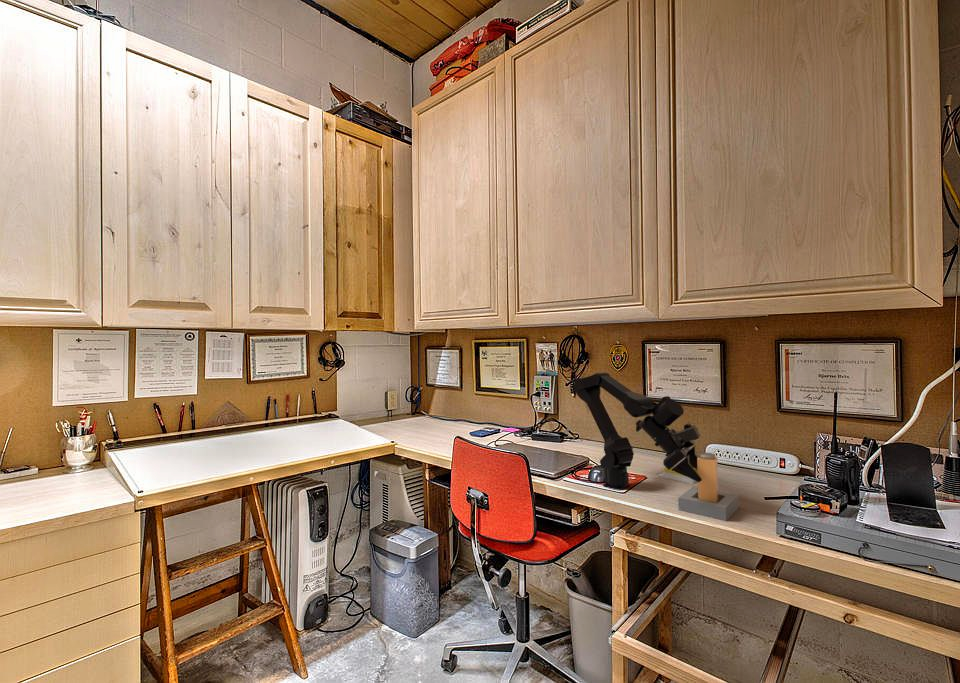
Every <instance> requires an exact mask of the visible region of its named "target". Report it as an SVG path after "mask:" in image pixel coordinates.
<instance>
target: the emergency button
mask: <svg viewBox="0 0 960 683" xmlns="http://www.w3.org/2000/svg"><path fill="white" fill-rule="evenodd" d="M673 467H674V466H673ZM673 467H672V468H673ZM672 468H671V469H672ZM671 469H670V470H668V469H667V468H666V467H664V468H663V469H662V470H663V472H661V473H658V474H657V476H658V477H662V478H664V479H670V480H674V481H677V480H678V482H681V483H682V482H683V483H686V484H689V485H690V484H691V485H694V486H698V482H697V481H695V480H693V479H691V478H689V477H686V476H684V475H682V474H680V473H677V472H675V471H671ZM694 469H695V468H694ZM695 471H696V472H697V473H698V471H697V469H695Z"/></svg>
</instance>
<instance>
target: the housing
mask: <svg viewBox="0 0 960 683" xmlns="http://www.w3.org/2000/svg"><path fill="white" fill-rule="evenodd" d="M677 498H678V499H677V501H678V511H681V512H685V513H690V514H694V515H697V516H698V515H699V516H702V515H703V517H706V516H707V517H708V518H711V517H712V518H711V519H715V518H716V520H719V521H724V522H726V521H727V520H728V519H729V518H730V517H732V515H733V514H734V513H735V512H736V511H737V510H738V509H739V495H738V494H733V493H728V492H723V491H718V501H719V502H718V503H717V502H712V501H707V500H702V499H698V486H697V487H696V486H692V487H691V488H689V489H688V490H686V491H685V492H684V493H683V494H681V495H679V496H678V497H677Z"/></svg>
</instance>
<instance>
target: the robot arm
mask: <svg viewBox="0 0 960 683" xmlns="http://www.w3.org/2000/svg"><path fill="white" fill-rule="evenodd" d="M601 388H602V389H603V390H604V391H606V392H607V393H608V394H610V395H611V396H612V397H614V398H615V399H617V400H618V401H620V403H621V404H622V406H623V409H624V410H625V411H626V412H627V413H628V414H629V415H630V417H632V418H642V417H644V418H642V420H641V419H638V420H637V421H636V422H635V426H636V427H635V432H637V433H639V432H640V431H641V430H643V431H644V432H645V433H646V434H647V436H649V437H650V438H651V440H653V442H655V443H654V446H655V447H660V449H661V450H662V451H664V452H665V458H664V459H663V463H662V464H663V466H664V468H667V469H668V470H670V469H671V468H672V467H673V466H674V467H673V468H672V469H671V471H675V472H677V473H680V474H682V475H684V476H686V477H689V478H691V479H693V480H695V481H697V482H700V481H702V479H701V477H700V476H699V475H698V473H697V472H696V471H695V469H697V458H698V457H699V455H697V453H696V452H697V450H696V449H697V448H696V447H697V445H696V442H695V441H696V440H698V439H700V437H701V434H700V432H699V428H698V427H697V426H696V425H693V424H692V423H685V424H684V425H683V429H681V430H678V431H677V430H675V429H674V428H671V429H670V427H669V426H672V424H673V423H675V422H677V420H678V419H679V418H680V417H681V416H682V415H684V412H685V411H684V407H683V406H682V404H680V403H679V402H678V401H676V400H674V399H672V398H671V397H670V396H669V395H667V396H666V395H665V396H663V397H662V398H661V399H660V400H659V401H658V402H655V401H654V400H653V398H651V397H650V396H646V395H644V394H642V393H638V392H635V391H632V390H631V389H629V388H628V387H626V386H625V384H622V383H621V382H619V380H617V379H615V378H614V377H612V376H611V375H610V373H607V372H596V373H594V374H592V375H589V376H586V377H577V378H576V379H575V381H574V382H573V390H574V392H575V393H576V395H577V396H578V398H579V399H580V400H581V401H583V402H584V403H585V404H586V405H587V407H588V409H589V411H590V414H591V416H592V418H593V419H594V422H595V424H596V425H597V429H598V430H599V433H600V434H601V436H602V439H603V440H604V442H603V443H604V444H603V452H604V455H603V456H602V458H601V459H600V460H599V463H600V464H599V465H600V467H601V468H602V469H604V478H605V479H604V482H605V483H602V486H603V487H606V488H610V489H611V488H612V489H615V490H623V489H625V488H628V486H629V487H630V485H631V484H630V483H629V480H630V479H629V472H628V467H629V468H630V467H631V464H632V461H633V459H634V456H635V455H634V450H633V449H634V448H633V446H632V444H631V443H630V440H629V438H628V437H627V436H625V437H622V436H620V435H619V433H618V431H617V429H616V427H615V425H614V424H613V421H612V420H611V417H610V415H609V413H608V411H607V410H606V407H605V406H604V403H603V401H602V399H601ZM694 468H695V469H694Z"/></svg>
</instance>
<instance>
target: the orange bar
mask: <svg viewBox="0 0 960 683" xmlns="http://www.w3.org/2000/svg"><path fill="white" fill-rule="evenodd" d="M718 468H719V467H718V457H717V456H716V454H715V453H712V452H699V454H698V458H697V471H698V475H699V476H700V477H701V479H702V481H700V482H698V485H697V487H698V499H702V500H707V501H712V502H717V503H718V502H719V501H718V492H719V475H718V474H719V473H718V472H719V471H718Z"/></svg>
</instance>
